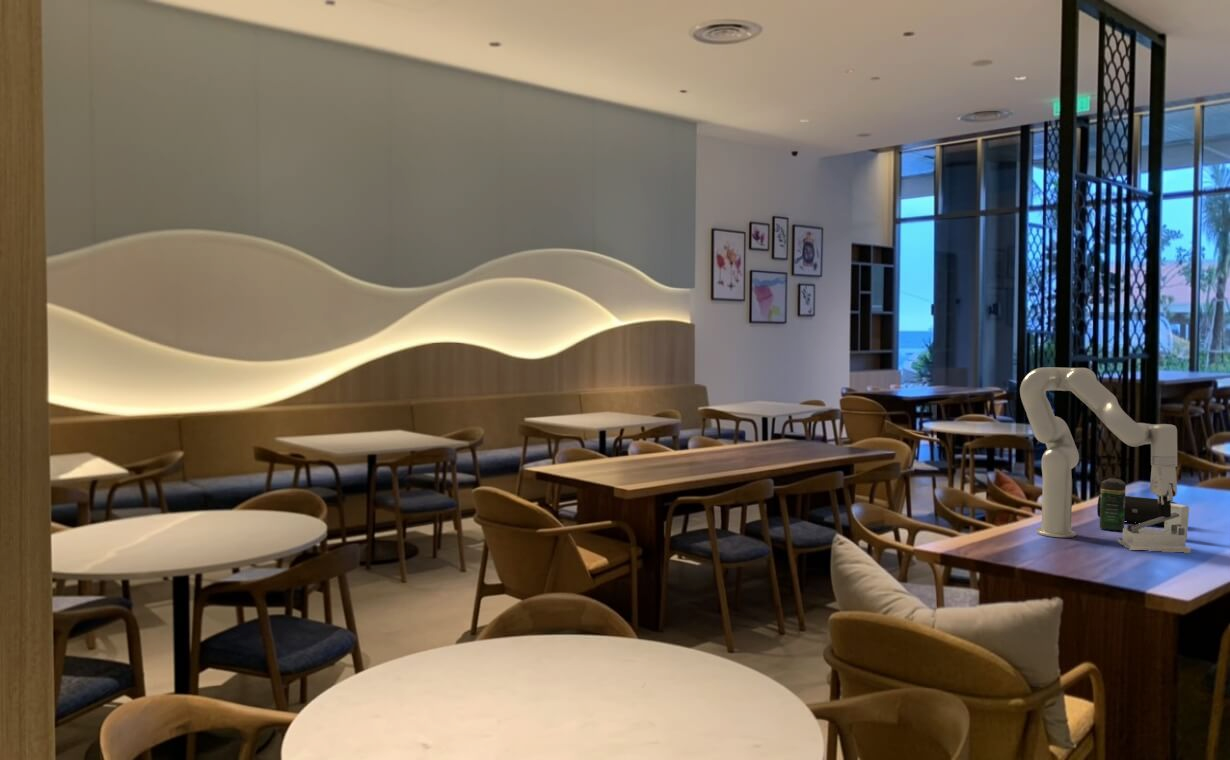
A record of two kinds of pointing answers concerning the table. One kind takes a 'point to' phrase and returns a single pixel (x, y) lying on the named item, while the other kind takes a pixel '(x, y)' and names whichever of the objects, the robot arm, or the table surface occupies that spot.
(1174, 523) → the skincare box
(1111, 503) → the coffee jar
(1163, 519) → the strap
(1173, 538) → the block
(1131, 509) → the portable speaker
